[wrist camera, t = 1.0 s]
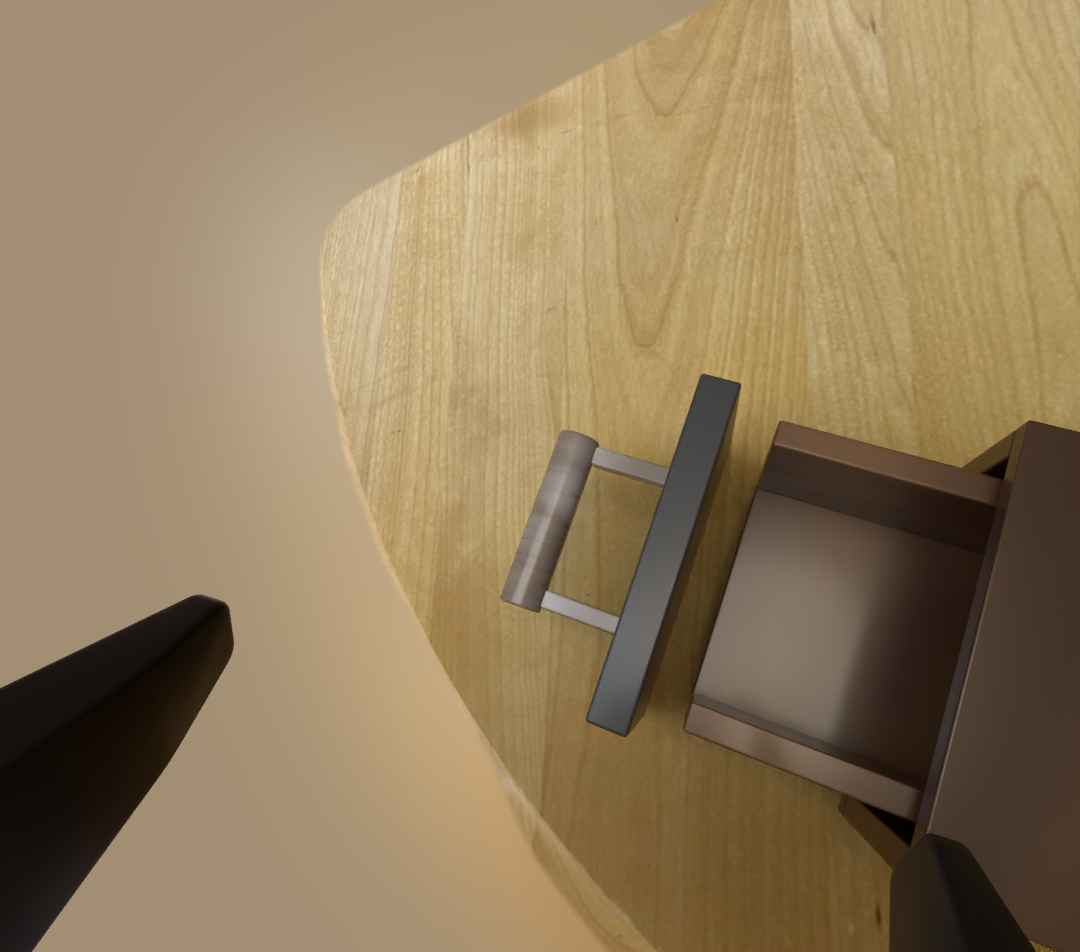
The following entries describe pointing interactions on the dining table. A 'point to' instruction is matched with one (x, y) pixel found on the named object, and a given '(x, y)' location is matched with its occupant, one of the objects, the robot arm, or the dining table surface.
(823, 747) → the drawer
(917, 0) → the dining table surface
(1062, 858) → the cabinet
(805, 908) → the dining table surface
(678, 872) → the dining table surface
